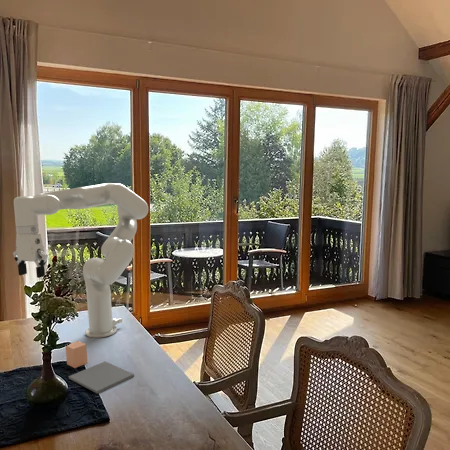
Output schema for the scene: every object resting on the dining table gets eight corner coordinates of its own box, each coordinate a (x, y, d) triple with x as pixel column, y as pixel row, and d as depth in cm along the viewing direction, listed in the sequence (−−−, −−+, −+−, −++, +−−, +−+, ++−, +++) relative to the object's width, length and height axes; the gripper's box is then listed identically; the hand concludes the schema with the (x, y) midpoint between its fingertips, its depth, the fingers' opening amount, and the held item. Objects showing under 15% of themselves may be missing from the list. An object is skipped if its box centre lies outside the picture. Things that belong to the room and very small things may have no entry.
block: (79, 359, 162) (78, 340, 161) (87, 363, 159) (86, 344, 158) (67, 364, 159) (65, 345, 158) (74, 368, 155) (73, 348, 154)
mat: (105, 363, 158) (105, 361, 158) (133, 376, 148) (133, 373, 148) (68, 378, 148) (68, 376, 148) (97, 393, 137) (97, 391, 137)
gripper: (52, 229, 164) (56, 275, 166) (20, 227, 172) (24, 271, 174) (35, 232, 158) (39, 280, 160) (2, 230, 166) (7, 276, 168)
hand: (31, 275), depth 167 cm, fingers open, 9 cm apart
